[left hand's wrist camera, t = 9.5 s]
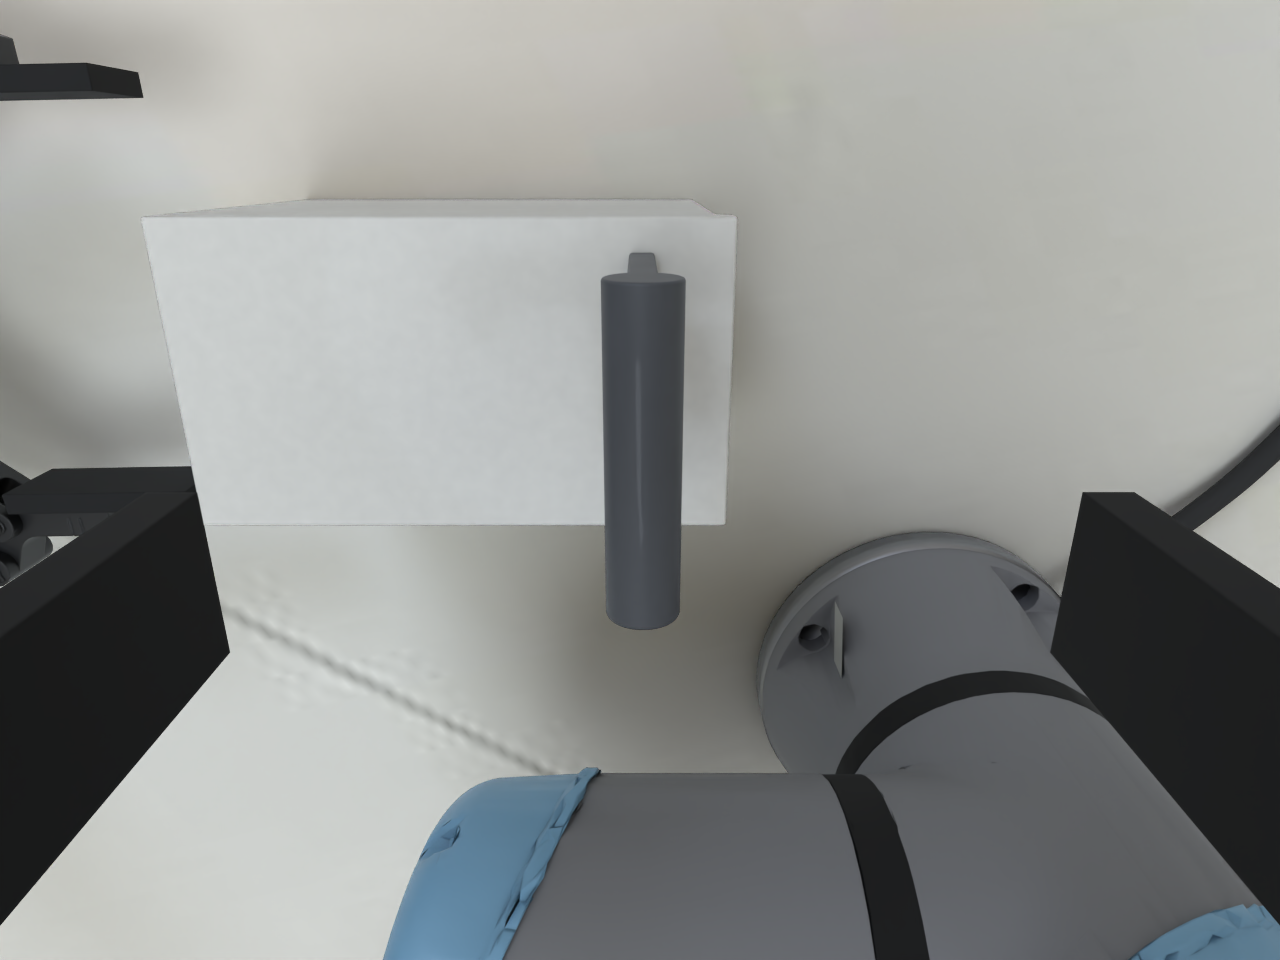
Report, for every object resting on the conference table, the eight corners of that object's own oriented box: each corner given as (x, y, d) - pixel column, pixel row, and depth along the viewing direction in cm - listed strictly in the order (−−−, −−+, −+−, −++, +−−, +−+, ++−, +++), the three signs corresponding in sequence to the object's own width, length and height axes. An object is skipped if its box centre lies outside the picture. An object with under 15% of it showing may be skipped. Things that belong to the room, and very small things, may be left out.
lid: (734, 214, 23) (784, 239, 15) (722, 513, 26) (758, 661, 18) (158, 214, 23) (-88, 239, 15) (217, 514, 26) (39, 662, 18)
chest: (693, 199, 33) (718, 214, 23) (689, 416, 36) (708, 513, 26) (305, 199, 33) (159, 214, 23) (334, 417, 36) (218, 513, 26)
